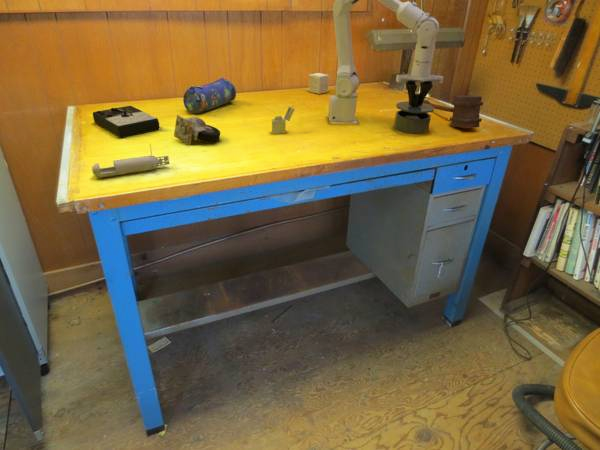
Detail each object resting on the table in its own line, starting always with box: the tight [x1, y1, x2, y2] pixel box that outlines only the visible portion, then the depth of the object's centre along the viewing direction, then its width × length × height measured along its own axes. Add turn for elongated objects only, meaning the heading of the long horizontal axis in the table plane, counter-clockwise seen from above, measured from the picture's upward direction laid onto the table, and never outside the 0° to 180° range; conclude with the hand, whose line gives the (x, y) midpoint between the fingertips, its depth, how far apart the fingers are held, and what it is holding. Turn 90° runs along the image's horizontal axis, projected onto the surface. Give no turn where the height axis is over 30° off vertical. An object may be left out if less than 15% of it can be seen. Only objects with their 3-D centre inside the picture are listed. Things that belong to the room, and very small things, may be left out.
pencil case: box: [182, 77, 237, 115], centre depth 153 cm, size 22×9×10 cm, turn 150°
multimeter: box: [92, 105, 160, 139], centre depth 133 cm, size 13×19×5 cm
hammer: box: [423, 95, 484, 129], centre depth 153 cm, size 7×33×10 cm, turn 16°
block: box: [405, 116, 420, 119], centre depth 140 cm, size 4×4×4 cm
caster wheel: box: [173, 114, 221, 146], centre depth 125 cm, size 7×11×10 cm
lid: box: [395, 92, 435, 114], centre depth 136 cm, size 12×12×5 cm
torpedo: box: [91, 144, 170, 179], centre depth 103 cm, size 18×5×7 cm, turn 118°
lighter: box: [271, 106, 295, 135], centre depth 133 cm, size 7×2×8 cm, turn 112°
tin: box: [393, 109, 432, 135], centre depth 139 cm, size 11×11×5 cm
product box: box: [308, 72, 330, 95], centre depth 180 cm, size 6×6×7 cm
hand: (415, 105), depth 136 cm, fingers closed on lid, 2 cm apart
